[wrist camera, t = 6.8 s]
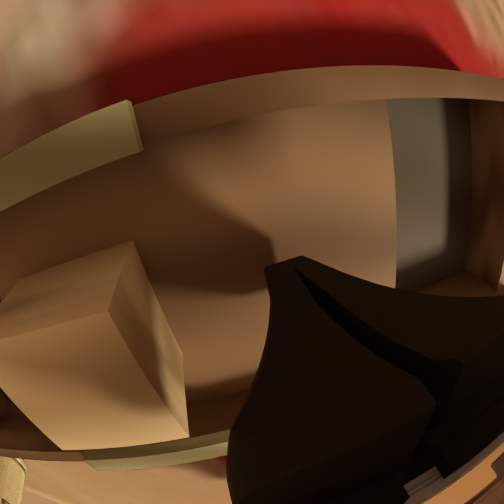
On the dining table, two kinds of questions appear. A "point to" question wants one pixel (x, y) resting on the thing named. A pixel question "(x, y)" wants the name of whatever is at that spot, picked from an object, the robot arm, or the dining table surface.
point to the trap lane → (259, 213)
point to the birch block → (93, 354)
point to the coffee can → (11, 480)
